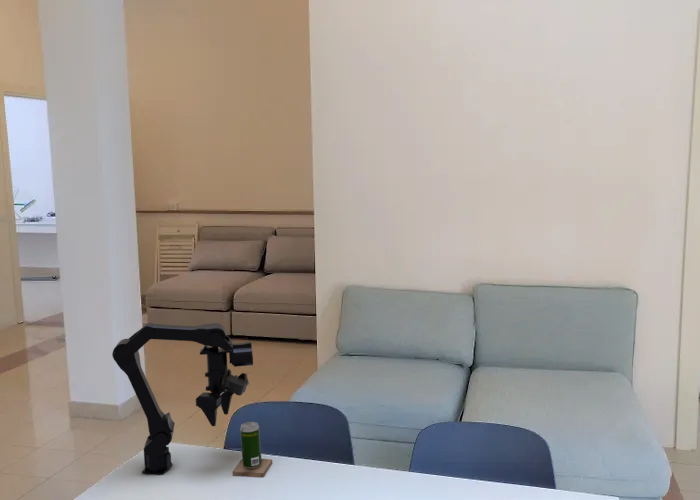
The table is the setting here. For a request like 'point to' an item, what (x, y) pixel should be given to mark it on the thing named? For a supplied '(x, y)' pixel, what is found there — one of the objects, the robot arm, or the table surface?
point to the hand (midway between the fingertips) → (220, 420)
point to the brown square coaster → (256, 472)
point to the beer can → (250, 445)
